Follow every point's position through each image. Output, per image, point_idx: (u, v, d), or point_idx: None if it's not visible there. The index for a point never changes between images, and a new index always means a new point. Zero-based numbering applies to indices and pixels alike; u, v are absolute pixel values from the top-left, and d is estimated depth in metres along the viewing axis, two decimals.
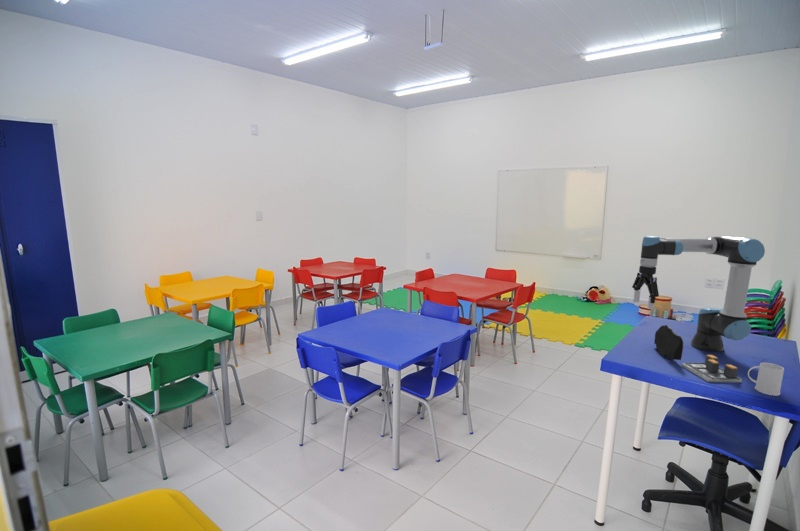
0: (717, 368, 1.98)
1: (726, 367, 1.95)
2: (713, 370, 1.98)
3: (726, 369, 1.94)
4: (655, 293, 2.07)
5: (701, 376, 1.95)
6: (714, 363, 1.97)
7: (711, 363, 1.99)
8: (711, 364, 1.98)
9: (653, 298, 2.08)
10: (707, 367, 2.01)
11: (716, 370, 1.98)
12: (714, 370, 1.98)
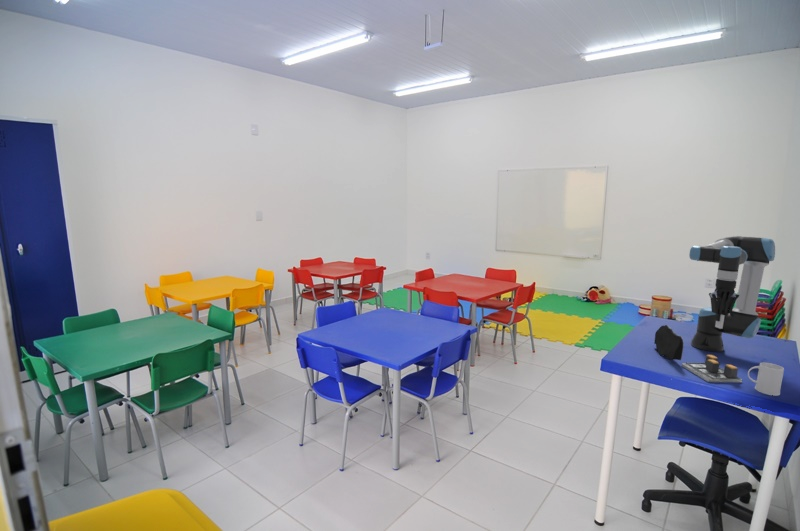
0: (717, 368, 1.98)
1: (726, 367, 1.95)
2: (713, 370, 1.98)
3: (726, 369, 1.94)
4: (713, 310, 1.95)
5: (701, 376, 1.95)
6: (714, 363, 1.97)
7: (711, 363, 1.99)
8: (711, 364, 1.98)
9: (716, 315, 1.95)
10: (707, 367, 2.01)
11: (716, 370, 1.98)
12: (714, 370, 1.98)
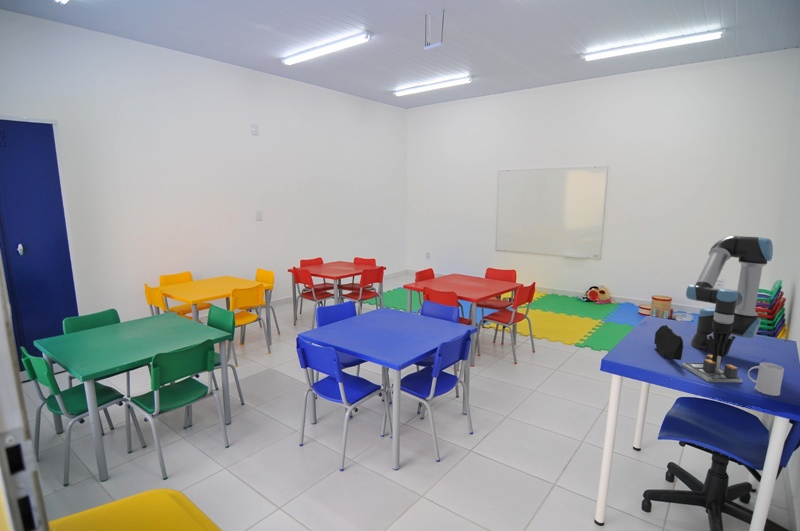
0: (713, 368, 1.98)
1: (726, 367, 1.95)
2: (710, 370, 1.98)
3: (726, 369, 1.94)
4: (710, 351, 1.99)
5: (701, 376, 1.95)
6: (711, 363, 1.97)
7: (708, 363, 1.99)
8: (708, 364, 1.98)
9: (713, 356, 1.99)
10: (704, 367, 2.01)
11: (713, 370, 1.98)
12: (711, 370, 1.98)
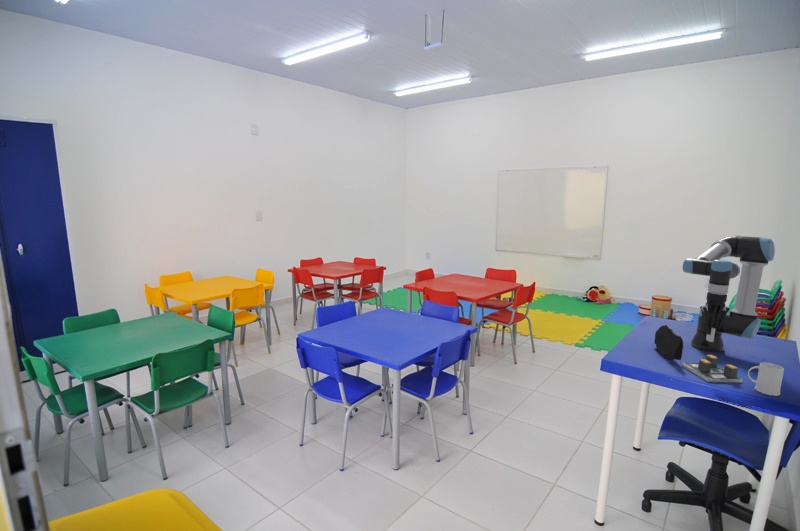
0: (709, 368, 1.98)
1: (726, 367, 1.95)
2: (705, 370, 1.98)
3: (726, 369, 1.94)
4: (704, 323, 1.96)
5: (701, 376, 1.95)
6: (706, 363, 1.97)
7: (703, 363, 1.98)
8: (703, 364, 1.98)
9: (707, 328, 1.96)
10: (699, 367, 2.01)
11: (708, 370, 1.98)
12: (706, 370, 1.98)
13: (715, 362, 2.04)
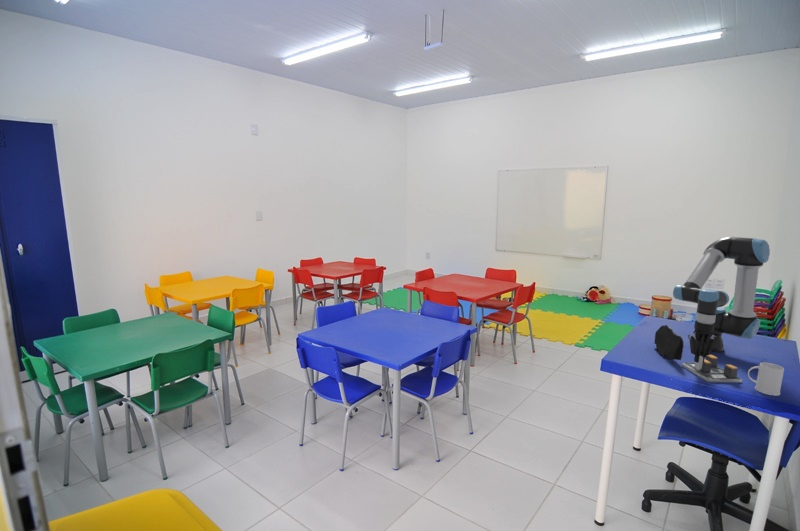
0: (709, 368, 1.98)
1: (726, 367, 1.95)
2: (705, 370, 1.98)
3: (726, 369, 1.94)
4: (692, 351, 1.99)
5: (701, 376, 1.95)
6: (706, 363, 1.97)
7: (703, 363, 1.98)
8: (703, 364, 1.98)
9: (695, 356, 1.99)
10: None
11: (708, 370, 1.98)
12: (706, 370, 1.98)
13: (715, 362, 2.04)
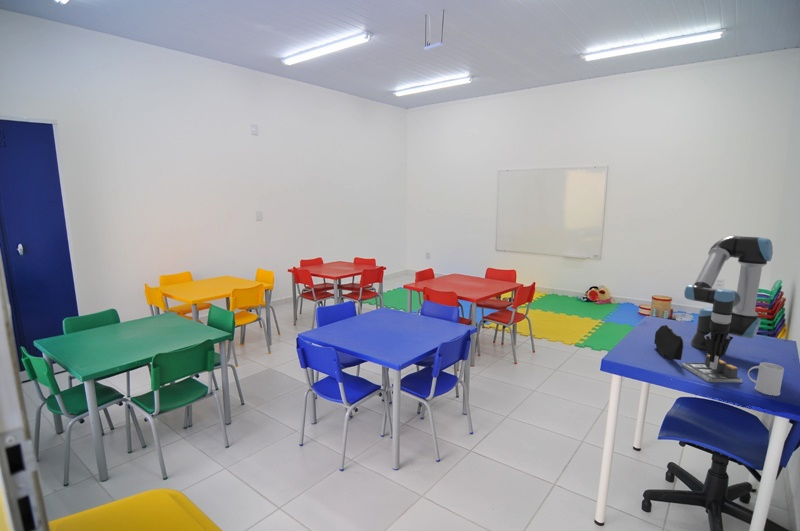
0: None
1: (726, 367, 1.95)
2: (720, 370, 1.98)
3: (726, 369, 1.94)
4: (707, 351, 1.99)
5: (701, 376, 1.95)
6: (721, 363, 1.98)
7: (718, 363, 1.99)
8: (718, 364, 1.99)
9: (710, 356, 1.99)
10: None
11: (723, 370, 1.98)
12: (721, 370, 1.98)
13: None
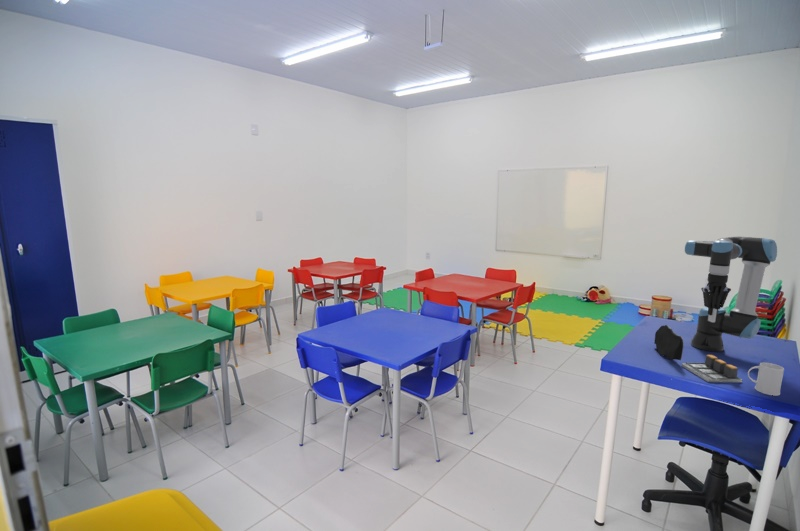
0: None
1: (726, 367, 1.95)
2: (720, 370, 1.98)
3: (726, 369, 1.94)
4: (705, 304, 1.98)
5: (701, 376, 1.95)
6: (722, 363, 1.98)
7: (718, 363, 1.99)
8: (718, 364, 1.99)
9: (709, 309, 1.98)
10: (714, 367, 2.01)
11: (723, 370, 1.98)
12: (721, 370, 1.98)
13: None
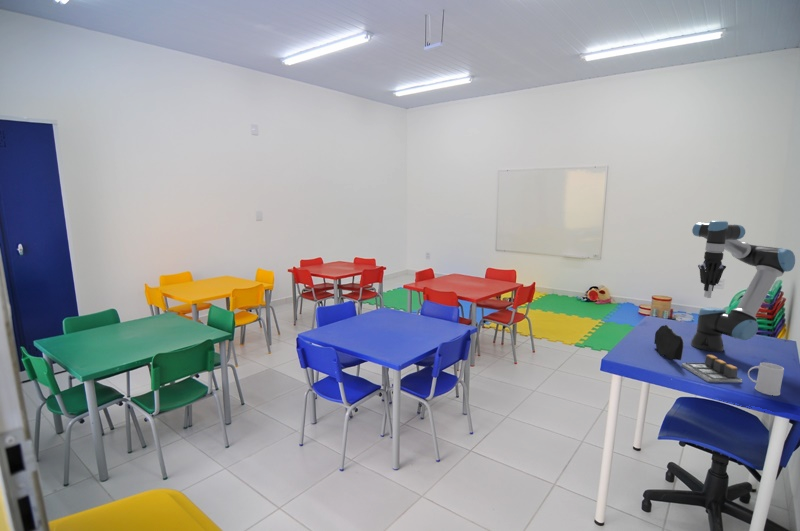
0: None
1: (726, 367, 1.95)
2: (720, 370, 1.98)
3: (726, 369, 1.94)
4: (702, 280, 2.10)
5: (701, 376, 1.95)
6: (722, 363, 1.98)
7: (718, 363, 1.99)
8: (718, 364, 1.99)
9: (705, 285, 2.10)
10: (714, 367, 2.01)
11: (723, 370, 1.98)
12: (721, 370, 1.98)
13: None
